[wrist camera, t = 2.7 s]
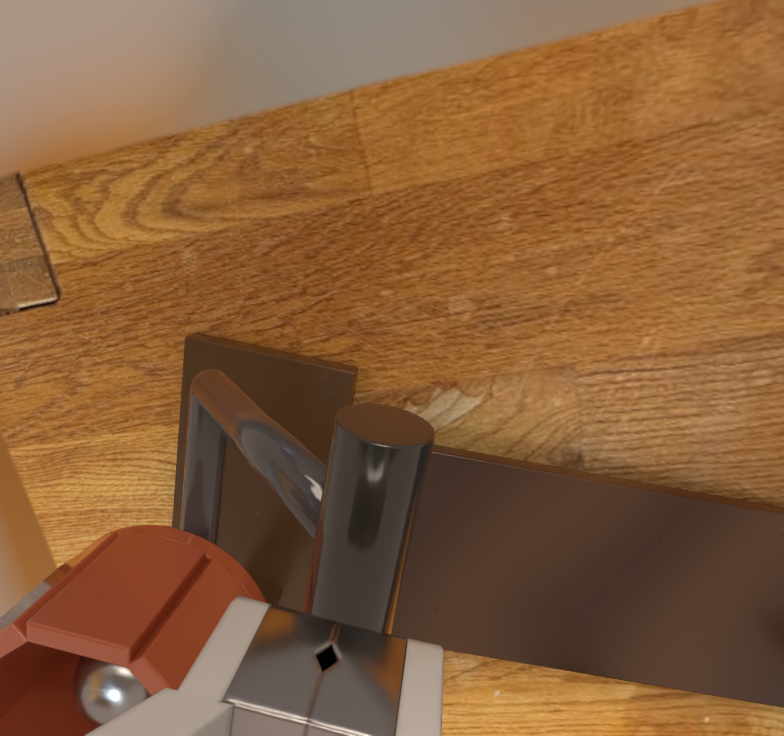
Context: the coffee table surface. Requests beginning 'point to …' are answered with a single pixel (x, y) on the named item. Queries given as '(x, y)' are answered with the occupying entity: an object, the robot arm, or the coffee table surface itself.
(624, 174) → the coffee table surface
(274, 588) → the cup stand
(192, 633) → the terracotta cup
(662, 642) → the ramp
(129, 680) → the steel ball
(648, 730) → the coffee table surface
